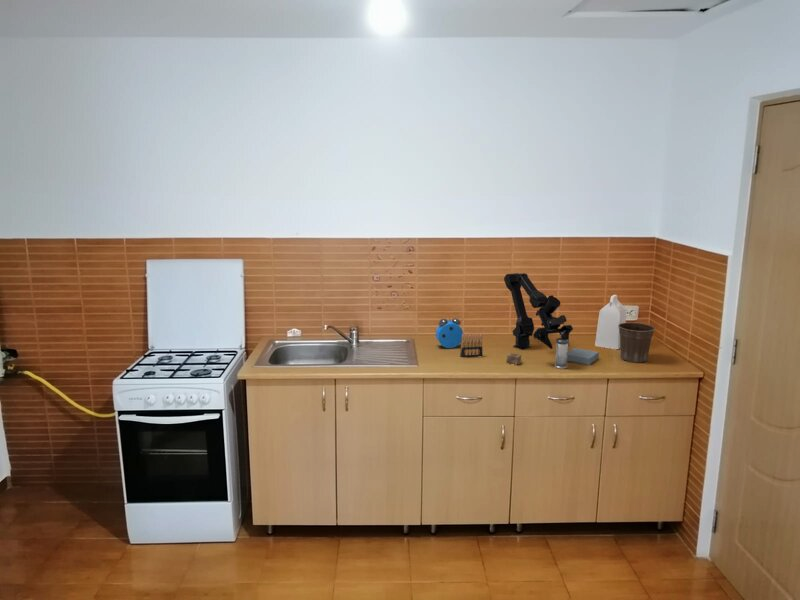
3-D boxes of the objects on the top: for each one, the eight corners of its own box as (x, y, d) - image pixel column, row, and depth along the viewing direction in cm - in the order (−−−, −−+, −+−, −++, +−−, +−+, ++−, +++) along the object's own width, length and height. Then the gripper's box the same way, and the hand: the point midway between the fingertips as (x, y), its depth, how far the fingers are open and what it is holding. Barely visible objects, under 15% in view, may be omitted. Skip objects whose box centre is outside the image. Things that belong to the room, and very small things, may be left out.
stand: (564, 359, 287) (565, 353, 287) (574, 353, 297) (574, 347, 296) (589, 364, 280) (589, 358, 279) (598, 358, 289) (598, 352, 289)
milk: (602, 340, 319) (606, 292, 313) (624, 344, 312) (629, 295, 306) (594, 345, 309) (598, 296, 304) (617, 349, 303) (622, 299, 297)
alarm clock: (460, 344, 311) (460, 316, 308) (463, 348, 305) (464, 319, 302) (435, 345, 309) (435, 317, 305) (438, 349, 303) (438, 320, 299)
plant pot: (610, 353, 297) (613, 321, 293) (643, 353, 297) (646, 322, 293) (622, 364, 281) (625, 331, 277) (657, 364, 281) (660, 331, 277)
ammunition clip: (481, 355, 294) (482, 331, 291) (482, 356, 292) (483, 332, 289) (460, 356, 292) (460, 332, 289) (461, 357, 290) (461, 333, 288)
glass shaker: (551, 366, 278) (553, 339, 275) (559, 364, 281) (561, 337, 278) (562, 369, 273) (563, 342, 271) (570, 367, 277) (571, 340, 274)
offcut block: (506, 363, 282) (506, 355, 281) (510, 360, 286) (511, 352, 285) (516, 365, 279) (517, 357, 278) (520, 362, 283) (521, 354, 283)
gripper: (538, 311, 274) (551, 341, 267) (571, 307, 281) (585, 336, 274) (527, 324, 283) (540, 353, 276) (560, 320, 290) (573, 348, 282)
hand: (560, 347), depth 277 cm, fingers open, 9 cm apart
